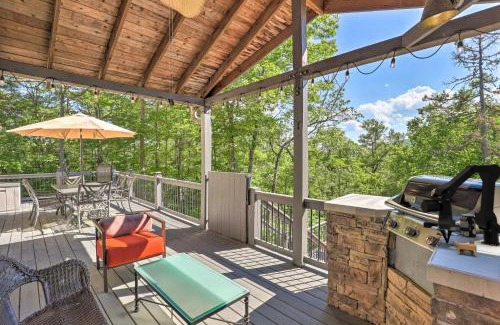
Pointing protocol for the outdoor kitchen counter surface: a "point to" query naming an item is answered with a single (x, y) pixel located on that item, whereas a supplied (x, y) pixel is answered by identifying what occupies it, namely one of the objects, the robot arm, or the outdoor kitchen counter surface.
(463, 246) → the orange u-shaped block
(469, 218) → the beverage can
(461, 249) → the tongs free arm
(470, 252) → the arm
